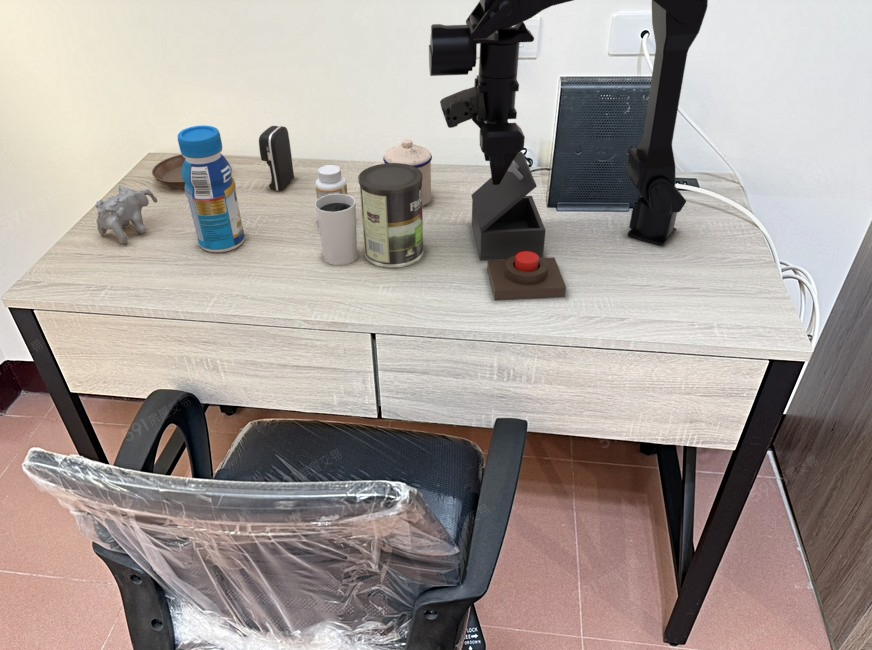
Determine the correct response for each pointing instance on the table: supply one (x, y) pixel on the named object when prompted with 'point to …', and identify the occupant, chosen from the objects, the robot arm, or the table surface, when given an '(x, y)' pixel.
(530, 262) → the release button
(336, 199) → the white coffee mug
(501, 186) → the lid
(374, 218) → the coffee can
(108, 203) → the gray elephant figurine
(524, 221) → the black box
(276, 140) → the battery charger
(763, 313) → the table surface
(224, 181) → the beverage bottle
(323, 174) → the supplement bottle
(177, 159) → the saucer
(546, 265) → the brown button base
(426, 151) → the cream enamel canister
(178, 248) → the table surface
